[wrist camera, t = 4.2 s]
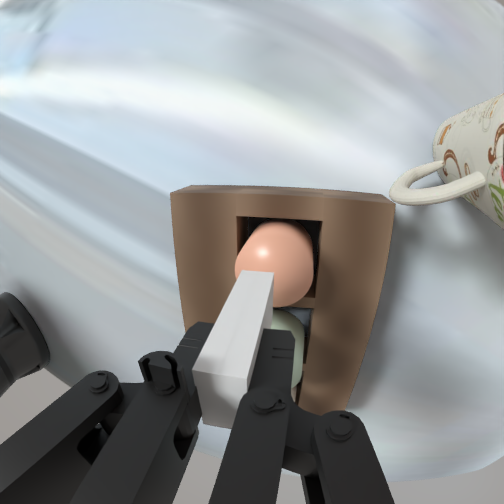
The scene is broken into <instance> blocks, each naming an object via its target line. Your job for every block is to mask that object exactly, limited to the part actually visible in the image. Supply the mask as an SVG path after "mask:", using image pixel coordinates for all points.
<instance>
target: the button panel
mask: <svg viewBox="0 0 504 504" xmlns="http://www.w3.org/2000/svg"><path fill="white" fill-rule="evenodd" d="M170 198H171V213H172V226H173V237H174V248H175V257H176V267H177V275H178V283H179V291H180V299H181V306H182V313H183V319H184V326H185V332H187V330H188V329H189V328H190V327H191V326H193V325H194V324H195V323H197V322H198V321H199V322H206V323H214V324H215V323H216V321H217V319H218V317H219V315H220V313H221V311H222V309H223V307H224V305H225V303H226V301H227V299H228V297H229V295H230V293H231V291H232V289H233V287H234V285H235V283H236V281H237V280H236V276H235V263H236V259H237V256H238V254H239V253H240V251H241V249H242V248H243V246H244V245H245V243H246V242H247V240H248V217H268V218H286V219H303V220H318V221H319V235H318V247H317V258H316V269H315V275H313V281H312V284H311V286H310V288H309V290H308V292H307V293H306V294H305V295H304V296H303V297H302V298H301V299H300V300H299V301H297V302H295V303H293V304H291V305H288V306H290V307H302V308H311V314H310V321H309V329H308V336H307V337H304V351H303V364H302V375H301V381H300V382H298V384H297V385H296V386H297V389H296V398H295V403H296V404H297V405H298V406H299V407H300V408H302V409H303V410H305V411H308V412H310V413H313V414H316V415H320V416H322V415H323V414H325V413H328V412H330V411H336V410H343V411H345V408H346V406H347V403H348V400H349V398H350V395H351V392H352V390H353V387H354V384H355V381H356V378H357V375H358V373H359V370H360V366H361V363H362V360H363V357H364V354H365V351H366V347H367V344H368V341H369V337H370V333H371V330H372V326H373V322H374V319H375V315H376V311H377V307H378V303H379V298H380V294H381V289H382V285H383V280H384V275H385V270H386V265H387V260H388V254H389V248H390V242H391V235H392V229H393V221H394V213H395V205H396V204H395V203H393V202H392V201H390V200H389V199H387V198H386V197H384V196H383V195H381V194H372V193H362V192H351V191H340V190H327V189H312V188H295V187H273V186H236V185H191V186H188V187H185V188H183V189H180V190H177V191H174V192H172V193H170Z"/></svg>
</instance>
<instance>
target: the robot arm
mask: <svg viewBox="0 0 504 504" xmlns="http://www.w3.org/2000/svg"><path fill="white" fill-rule="evenodd" d="M273 290H274V272H260V271H247V270H242V271H241V273H240V275H239V277H238V279H237V281H236V283H235V285H234V287H233V289H232V291H231V293H230V295H229V297H228V299H227V301H226V303H225V305H224V307H223V309H222V311H221V313H220V315H219V317H218V319H217V321H216V323H215V324H214V323H206V322H199V321H198V322H197V323H195V324H194V325H193V326H191V327H190V328H189V329H188V330H187V332H186V333H185V335H184V337H183V339H182V340H181V342H180V343H179V346H177V348H176V350H175V351H174V353H171V352H168V351H156V352H151V353H149V354H147V355H145V356H143V357H142V358H141V359H140V360H139V361H138V363H139V366H140V369H141V372H142V375H143V378H144V383H119V381H118V378H117V377H116V376H115V375H114V374H113V373H111V372H108V371H96V372H93V373H91V374H89V375H87V376H86V377H85V378H83V379H82V380H81V381H80V382H78V383H77V384H76V385H74V386H73V387H72V388H71V389H70V390H68V391H67V392H66V393H64V394H63V395H62V396H61V397H59V398H58V399H57V400H56V401H54V402H53V403H52V404H51V405H49V406H48V407H47V408H46V409H45V410H43V411H42V412H41V413H39V414H38V415H37V416H36V417H34V418H33V419H32V420H31V421H29V422H28V423H27V424H26V425H24V426H23V427H22V428H21V429H19V430H18V431H17V432H16V433H15V434H13V435H12V436H11V437H10V438H8V439H7V440H6V441H4V442H3V443H2V444H1V445H0V504H172V503H173V500H174V498H175V495H176V493H177V490H178V488H179V485H180V482H181V480H182V478H183V475H184V473H185V470H186V467H187V465H188V462H189V460H190V457H191V454H192V452H193V449H194V447H195V444H196V442H197V439H198V435H199V430H198V427H197V426H198V423H199V421H200V418H201V416H202V420H203V424H207V425H212V426H217V427H222V428H228V429H232V430H231V433H230V437H229V440H228V443H227V446H226V450H225V453H224V456H223V460H222V463H221V466H220V469H219V472H218V476H217V479H216V483H215V485H214V488H213V491H212V495H211V498H210V500H209V504H276V499H277V494H278V488H279V481H280V475H281V469H282V468H284V469H287V470H289V471H292V472H295V473H298V474H300V475H301V480H302V485H303V490H304V495H305V500H306V504H395V503H394V500H393V498H392V495H391V492H390V490H389V487H388V484H387V482H386V479H385V476H384V474H383V471H382V469H381V466H380V463H379V461H378V458H377V456H376V453H375V451H374V448H373V446H372V443H371V441H370V438H369V436H368V433H367V431H366V429H365V426H364V424H363V423H362V421H361V420H360V418H359V417H357V416H356V415H354V414H353V413H351V412H347V411H343V410H336V411H330V412H328V413H325V414H323V415H322V416H320V415H316V414H313V413H310V412H308V411H305V410H303V409H302V408H300V407H299V406H298V405H297V404H296V403H295V402H294V401H293V398H292V396H291V385H292V374H293V363H294V351H295V338H294V336H293V334H292V332H291V331H290V330H278V329H271V325H272V314H273ZM49 360H50V356H49V351H48V348H47V345H46V343H45V341H44V339H43V336H42V335H41V333H40V331H39V329H38V327H37V326H36V324H35V322H34V321H33V319H32V318H31V316H30V315H29V313H28V312H27V311H26V309H25V308H24V307H23V306H22V304H21V303H20V302H19V301H18V300H17V299H16V298H15V297H14V296H13V295H11V294H9V293H7V292H4V293H2V294H1V295H0V397H1V396H2V395H3V394H4V393H5V392H6V390H7V389H8V388H9V387H10V386H11V385H12V384H13V383H14V382H15V381H16V380H18V379H20V378H22V377H25V376H27V375H30V374H32V373H34V372H37V371H39V370H41V369H42V368H43V367H44V366H46V365H47V364H48V362H49ZM98 423H99V424H98ZM97 424H98V425H97Z"/></svg>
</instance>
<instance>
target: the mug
mask: <svg viewBox="0 0 504 504" xmlns="http://www.w3.org/2000/svg"><path fill="white" fill-rule="evenodd" d="M433 158H434V162H431V163H428V164H425V165H421V166H418V167H415V168H412V169H410V170H408V171H406V172H405V173H404V174H403V175H402V176H400V177H399V178H398V179H397V180H396V181H395V182H394V184H393V185H392V187H391V189H390V191H389V196H390V198H391V199H392V200H393V201H394V202H396V203H398V204H402V205H430V204H437V203H442V202H446V201H450V200H453V199H456V198H458V197H463V198H464V199H465V200H467V201H468V202H469V203H471V204H472V205H473V206H475V207H476V208H477V209H479V210H480V211H481V212H483V213H484V214H485V215H486V216H488V217H489V218H490V219H491V220H493V221H494V222H495V223H496V224H497V225H499V226H500V227H501V228H502V229H503V230H504V93H503V94H501V95H498V96H496V97H494V98H492V99H489V100H487V101H485V102H483V103H480V104H478V105H476V106H474V107H472V108H470V109H467V110H465V111H463V112H461V113H459V114H457V115H455V116H452V117H450V118H449V119H447V120H446V121H444V122H443V123H442V124H441V125H440V127H439V128H438V130H437V132H436V134H435V137H434V142H433ZM435 171H437V172H438V174H439V176H440V177H441V179H442V180H443V182H444V183H445V184H444V185H440V186H436V187H430V188H422V189H410V188H409V187H410V186H411V184H412V183H414V182H415V181H417V180H419V179H421V178H423V177H425V176H427V175H429V174H431V173H433V172H435Z"/></svg>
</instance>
